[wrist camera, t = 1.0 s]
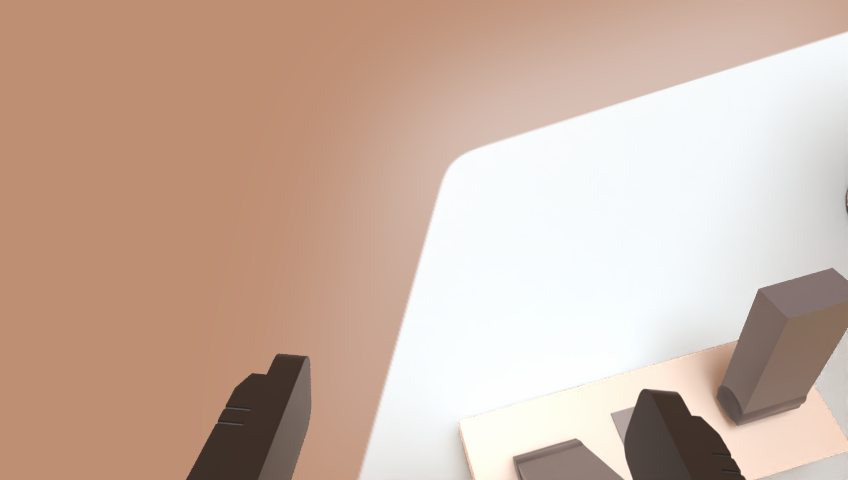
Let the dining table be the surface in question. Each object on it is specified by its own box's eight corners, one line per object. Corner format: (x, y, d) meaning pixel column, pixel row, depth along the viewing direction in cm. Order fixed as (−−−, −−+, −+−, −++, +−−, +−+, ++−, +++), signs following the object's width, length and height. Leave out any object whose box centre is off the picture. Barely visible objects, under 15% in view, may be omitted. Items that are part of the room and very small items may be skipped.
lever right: (772, 380, 29) (830, 266, 23) (799, 411, 28) (868, 297, 22) (713, 398, 29) (756, 287, 23) (737, 429, 28) (790, 320, 22)
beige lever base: (739, 350, 35) (781, 327, 31) (799, 456, 32) (855, 449, 28) (459, 431, 34) (458, 420, 30) (492, 550, 31) (497, 559, 26)
